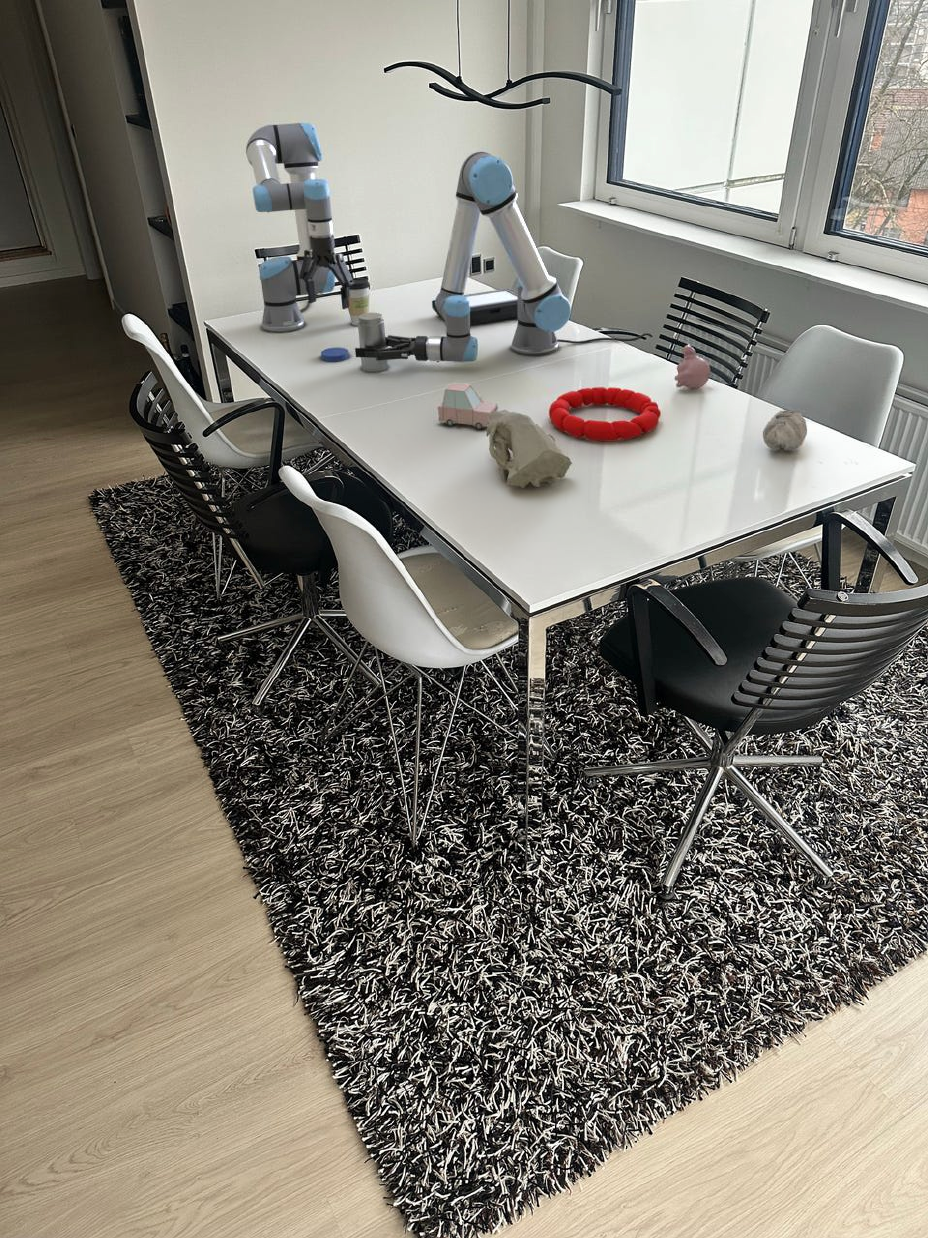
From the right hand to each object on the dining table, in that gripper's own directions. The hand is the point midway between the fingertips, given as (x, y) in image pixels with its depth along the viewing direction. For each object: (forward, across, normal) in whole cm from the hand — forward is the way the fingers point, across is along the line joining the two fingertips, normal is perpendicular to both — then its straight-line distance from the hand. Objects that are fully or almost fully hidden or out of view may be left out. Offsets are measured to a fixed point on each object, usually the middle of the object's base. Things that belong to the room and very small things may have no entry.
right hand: (360, 346), depth 283 cm
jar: (-4, 0, -7) cm, 8 cm away
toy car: (-42, -43, -7) cm, 60 cm away
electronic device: (-31, +58, -7) cm, 67 cm away
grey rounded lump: (-124, -53, -7) cm, 135 cm away
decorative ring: (-78, -39, -7) cm, 88 cm away
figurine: (-103, -12, -7) cm, 104 cm away
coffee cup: (+13, +47, -7) cm, 49 cm away
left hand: (+12, +10, +10) cm, 18 cm away
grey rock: (-59, -72, -7) cm, 93 cm away
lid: (+12, +9, -5) cm, 16 cm away
